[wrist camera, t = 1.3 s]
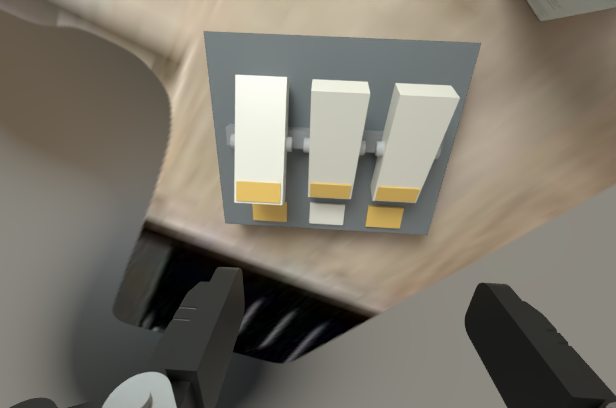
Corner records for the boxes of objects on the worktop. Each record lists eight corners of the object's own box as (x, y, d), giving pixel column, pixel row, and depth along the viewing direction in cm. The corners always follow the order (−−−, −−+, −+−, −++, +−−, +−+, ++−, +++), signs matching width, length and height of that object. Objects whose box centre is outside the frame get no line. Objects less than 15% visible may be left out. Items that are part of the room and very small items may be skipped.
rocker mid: (305, 78, 20) (303, 91, 19) (374, 81, 20) (378, 95, 19) (304, 182, 28) (302, 197, 26) (354, 185, 27) (356, 200, 26)
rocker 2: (388, 82, 20) (393, 95, 19) (458, 85, 20) (468, 99, 19) (365, 185, 27) (367, 201, 26) (416, 188, 27) (421, 204, 26)
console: (219, 35, 26) (196, 29, 21) (459, 45, 25) (490, 42, 21) (235, 206, 34) (221, 230, 29) (416, 216, 34) (431, 242, 29)
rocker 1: (236, 81, 24) (228, 73, 21) (295, 84, 23) (293, 76, 21) (235, 198, 25) (227, 202, 23) (290, 201, 25) (288, 205, 23)
